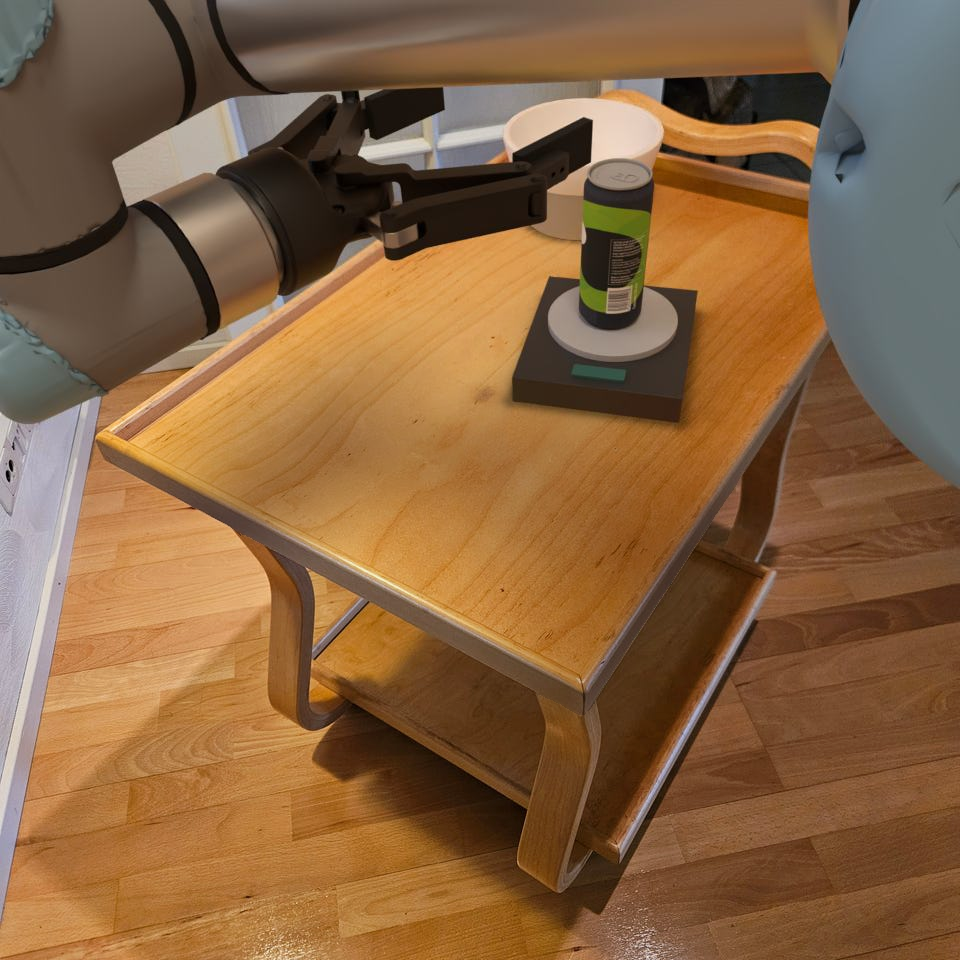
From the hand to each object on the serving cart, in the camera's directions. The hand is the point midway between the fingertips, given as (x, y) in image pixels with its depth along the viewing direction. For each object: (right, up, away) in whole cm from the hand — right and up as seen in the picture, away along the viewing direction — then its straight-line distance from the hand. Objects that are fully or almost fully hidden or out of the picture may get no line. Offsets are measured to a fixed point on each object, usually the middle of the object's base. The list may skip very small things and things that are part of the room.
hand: (509, 112), depth 56 cm
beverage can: (+11, -8, +28) cm, 31 cm away
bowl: (+11, +9, +51) cm, 53 cm away
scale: (+11, -12, +30) cm, 34 cm away
